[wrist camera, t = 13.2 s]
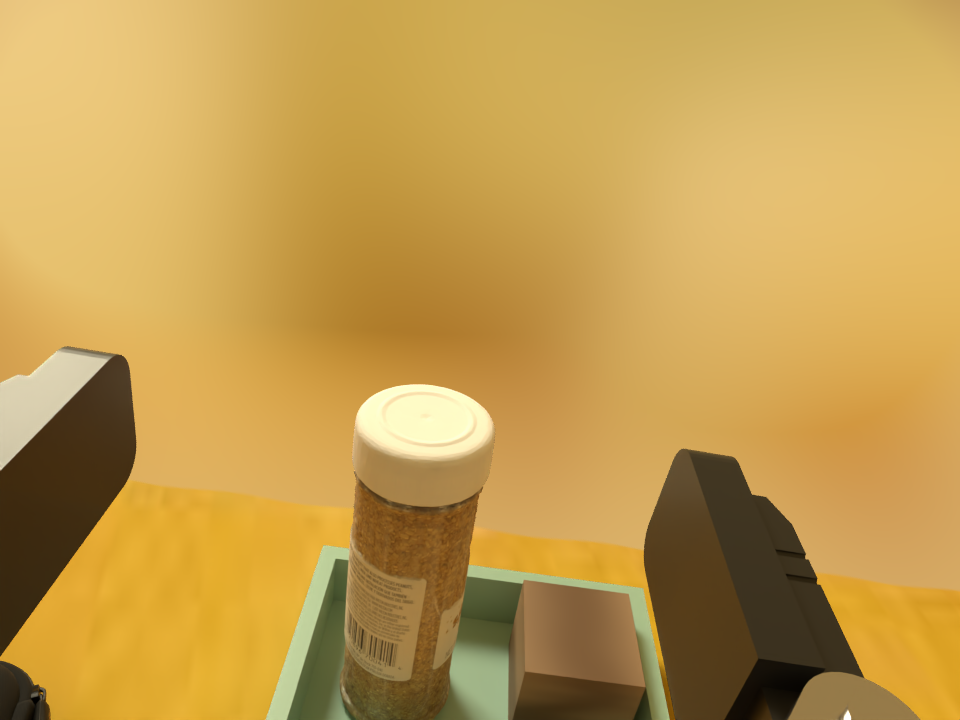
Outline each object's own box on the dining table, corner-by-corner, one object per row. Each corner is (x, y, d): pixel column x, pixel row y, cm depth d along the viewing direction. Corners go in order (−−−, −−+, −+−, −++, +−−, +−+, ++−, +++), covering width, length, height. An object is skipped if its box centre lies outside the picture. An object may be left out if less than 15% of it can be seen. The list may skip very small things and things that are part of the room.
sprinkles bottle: (470, 703, 29) (526, 435, 23) (372, 761, 27) (404, 476, 20) (410, 624, 32) (445, 367, 26) (317, 669, 30) (329, 396, 23)
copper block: (507, 738, 28) (525, 671, 26) (508, 643, 32) (523, 579, 30) (620, 752, 28) (645, 687, 27) (607, 657, 32) (628, 593, 31)
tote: (260, 792, 26) (260, 737, 24) (320, 595, 34) (323, 545, 32) (660, 841, 26) (684, 790, 25) (626, 636, 34) (642, 588, 33)
